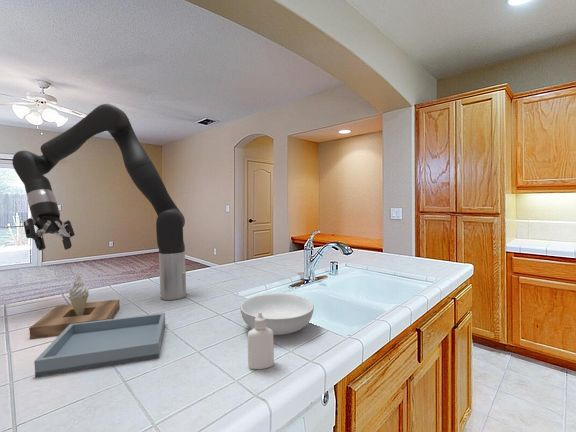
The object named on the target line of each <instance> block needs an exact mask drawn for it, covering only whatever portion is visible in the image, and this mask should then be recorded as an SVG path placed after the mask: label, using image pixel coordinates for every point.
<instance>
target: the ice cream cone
mask: <svg viewBox="0 0 576 432" xmlns="http://www.w3.org/2000/svg"><path fill="white" fill-rule="evenodd" d="M72 285H73V286H72V287H71V288H70V289H69V296H68V298H69V300H70V303H71V304H72V305H73V308H74V310H75V313H76V315H77V316H82V315H83V313H84V309H85V305H86V303H88V302H87V301H88V297H89V295H90V293H89V288H88V286H87V285H85V281H84V280H83V279H82V278H81V276H80V273H78V274H77V276H76V279H75V280H74V281H73V284H72Z"/></svg>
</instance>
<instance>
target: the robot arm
mask: <svg viewBox="0 0 576 432" xmlns="http://www.w3.org/2000/svg"><path fill="white" fill-rule="evenodd" d="M104 132H108V133H109V134H110V135H111V137H112V138H113V140H114V141H115V142H116V144H117V146H118V148H119V149H120V153H121V156H122V159H123V160H122V161H123V163H124V167H125V169H126V172H127V174H128V175H129V177H130V179H131V180H132V183H134V185H135V187H136V189H138V190H139V191H140V192H141V193H142V195H143V197H145V198H146V199H147V200H148V201H149V203H150V204H151V206H152V208H153V209H154V211H155V213H156V215H157V218H156V223H155V225H156V226H155V229H156V243H157V247H158V258H159V259H158V262H159V263H158V264H159V265H158V266H159V291H160V292H159V294H160V300H163V301H174V300H179V299H180V300H181V299H182V298H186V297H187V276H186V274H187V273H186V271H187V270H186V249H185V248H186V246H185V241H184V227H185V224H186V221H185V220H186V219H185V216H184V214H183V213H182V212H181V210H180V209H179V208H178V206H177V204H176V203H175V202H174V200H173V199H172V197H171V196H170V194H169V193H168V190H167V188H166V185H165V183H164V182H163V179H162V178H161V175H160V173H159V172H158V170H157V168H156V166H155V165H154V163H153V162H152V159H151V157H150V156H149V155H148V153H147V152H146V150H145V148H144V147H143V146H142V144H141V143H140V141H139V139H138V137H137V135H136V133H135V131H134V128H133V126H132V123H131V121H130V119H129V117H128V116H127V113H125V111H123V110H122V109H120V108H119V107H117V106H115V105H113V104H110V103H102V104H99V105H98V106H97V107H96V108H94V109H92V111H90V112H89V113H88V114H86V116H85V117H83V118H82V119H81V120H79V121H77V123H76V124H74V125H73V126H71V127H70V128H68V129H67V130H65V131H64V132H62V133H60V134H58V135H57V136H55V137H53V138H51V139H50V140H48V141H46V142H44V143H43V144H42V145H40V149H39V150H40V152H41V154H42V155H38V154H36V153H33V152H31V151H29V150H19V151H17V152H15V154H14V155H13V157H12V161H11V162H12V166H13V169H14V171H15V173H16V174H17V176H18V178H19V179H20V181H21V182H22V183H23V186H24V189H25V192H26V196H27V197H26V198H27V203H28V207H29V211H30V214H31V217H30V218H27V219H26V220H24V221H23V227H24V233H25V238H27V239H32V240H33V241H34V243H35V247H36V249H38V251H43V250H45V249H46V244H45V241H44V240H45V239H44V237H43V236H44V235H45V234H54V235H56V236H57V237H59V238H61V242H62V244H63V245H62V246H63V248H64V250H66V251H67V250H69V249H71V248H72V246H73V245H72V241H71V238H72V237H74V236H75V235H76V234H75V232H74V228H73V225H72V222H71V221H70V220H69V219H68V220H66V221H62V220H61V212H60V209H59V206H58V202H57V199H56V197H55V194H54V191H53V188H52V185H51V182H50V179H48V178H47V177H46V176H45V175H46V174H49V172H50V171H52V169H54V168H55V166H56V165H58V163H60V161H62V160H64V159H65V158H67V157H70V156H71V155H72V154H74V153H75V152H77V151H78V150H79V149H81V147H82V146H84V144H85V143H86V142H87V141H88V140H89V139H91V138H92V137H94V136H96V135H98V134H100V133H104ZM35 228H37V229H36V230H35Z"/></svg>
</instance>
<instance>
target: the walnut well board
mask: <svg viewBox="0 0 576 432" xmlns="http://www.w3.org/2000/svg"><path fill="white" fill-rule="evenodd" d="M120 306H121V305H120V299H112V300H104V301H92V302H86V305H85V309H84V313H83V315H82V316H77V315H76V313H75V310H74V308H73V305H72V303H71V304H61V305H56V306H55V307H54V308H53V309H51V310H50V311H48V313H46V314H45V315H44V316H42V317H41V318H40V319H39V320H38V321H36V322H35V323H33V325H31V326H30V327H29V339H30V340H32V339H40V338H47V337H55V336H56V337H58V336H59V335H60V334H61V333H62V332H63V331H64V330H65V329H66V328H67V327H68V326H69V325H70V324H74V323H83V322H91V321H100V320H108V319H115V316H117V313H118V312H119V310H120V308H121V307H120Z"/></svg>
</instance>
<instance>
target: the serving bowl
mask: <svg viewBox="0 0 576 432" xmlns="http://www.w3.org/2000/svg"><path fill="white" fill-rule="evenodd" d="M314 306H315V305H314V304H313V302H312V301H311V300H310V299H308V298H306V297H303V296H301V295H296V294H291V293H290V294H289V293H266V294H261V295H260V294H259V295H256V296H253V297H250V298H247V299H245V300H244V301H243V302H241V304H240V308H239V309H240V314H241V318H242V319H243V322H244V323H245V324H246V325H247V326H248V327H249V328H250V329H251V330H252V329H254V328H255V318H256V317H258V313H259V312H262V316H263V317H265V318H266V327H267V328H270V329H271V330H272V332H273V336H279V335H280V336H281V335H288V334H293V333H296V332H299V331H300V330H301V329H303V328H305V327H306V325H307V326H308V324H309V322H311V319H312V317H313V315H314V309H315V308H314Z"/></svg>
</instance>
